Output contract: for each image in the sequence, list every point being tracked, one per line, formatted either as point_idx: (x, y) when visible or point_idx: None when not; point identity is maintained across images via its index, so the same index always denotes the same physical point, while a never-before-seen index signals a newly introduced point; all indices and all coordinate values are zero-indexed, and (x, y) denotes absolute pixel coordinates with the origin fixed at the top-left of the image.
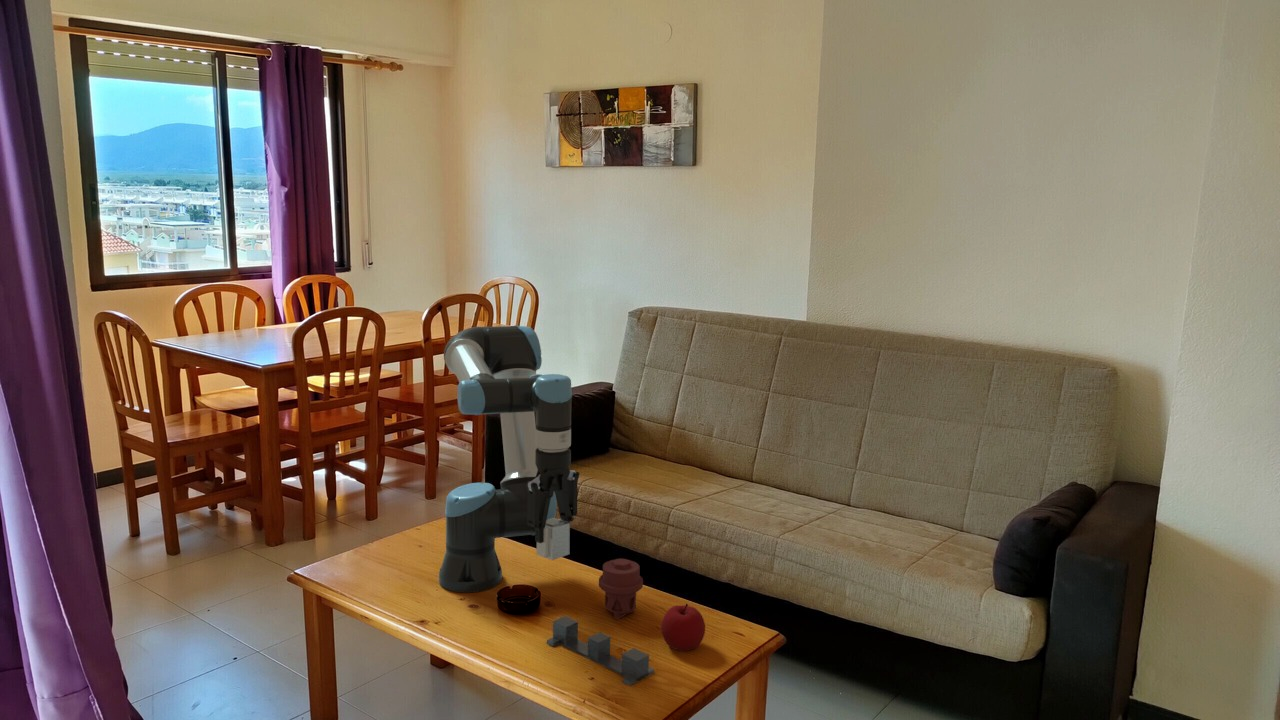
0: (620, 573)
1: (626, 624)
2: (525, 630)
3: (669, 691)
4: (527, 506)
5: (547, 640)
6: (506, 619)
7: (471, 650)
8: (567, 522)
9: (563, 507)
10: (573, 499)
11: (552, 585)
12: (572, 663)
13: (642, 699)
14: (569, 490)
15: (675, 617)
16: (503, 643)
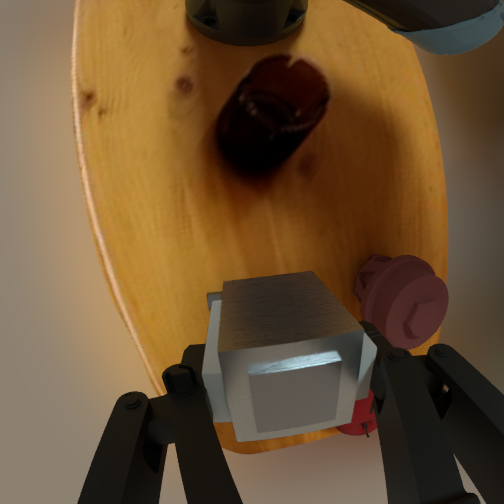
0: (392, 343)
1: (351, 314)
2: (204, 229)
3: (260, 440)
4: (85, 484)
5: (207, 297)
6: (200, 168)
7: (98, 235)
8: (351, 414)
9: (384, 447)
10: (454, 452)
11: (358, 109)
12: None
13: (227, 438)
14: (491, 464)
15: (346, 430)
16: (147, 247)
